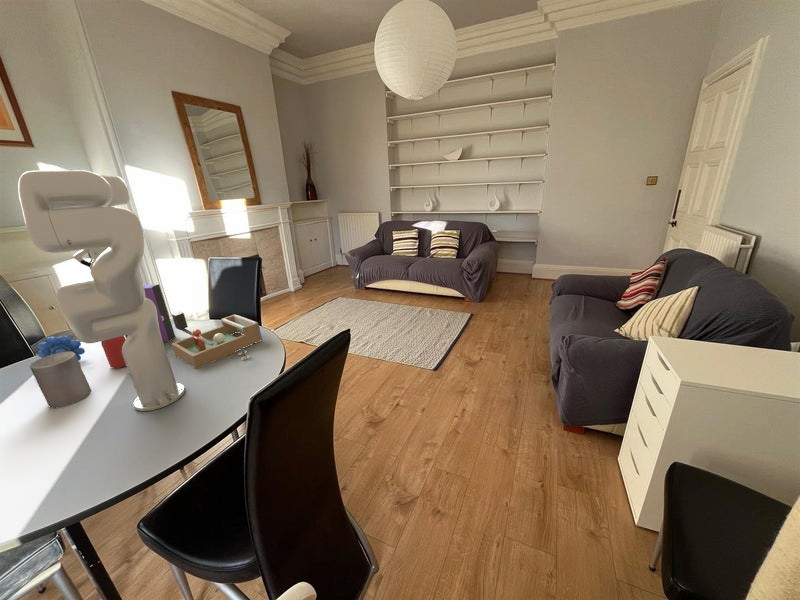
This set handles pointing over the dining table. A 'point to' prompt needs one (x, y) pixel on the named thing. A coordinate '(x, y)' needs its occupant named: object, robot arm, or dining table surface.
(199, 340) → the striker
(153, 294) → the cereal box
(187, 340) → the pitch
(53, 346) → the grapes
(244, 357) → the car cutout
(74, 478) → the dining table surface
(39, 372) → the pillar candle
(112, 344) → the beer can
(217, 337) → the ball
